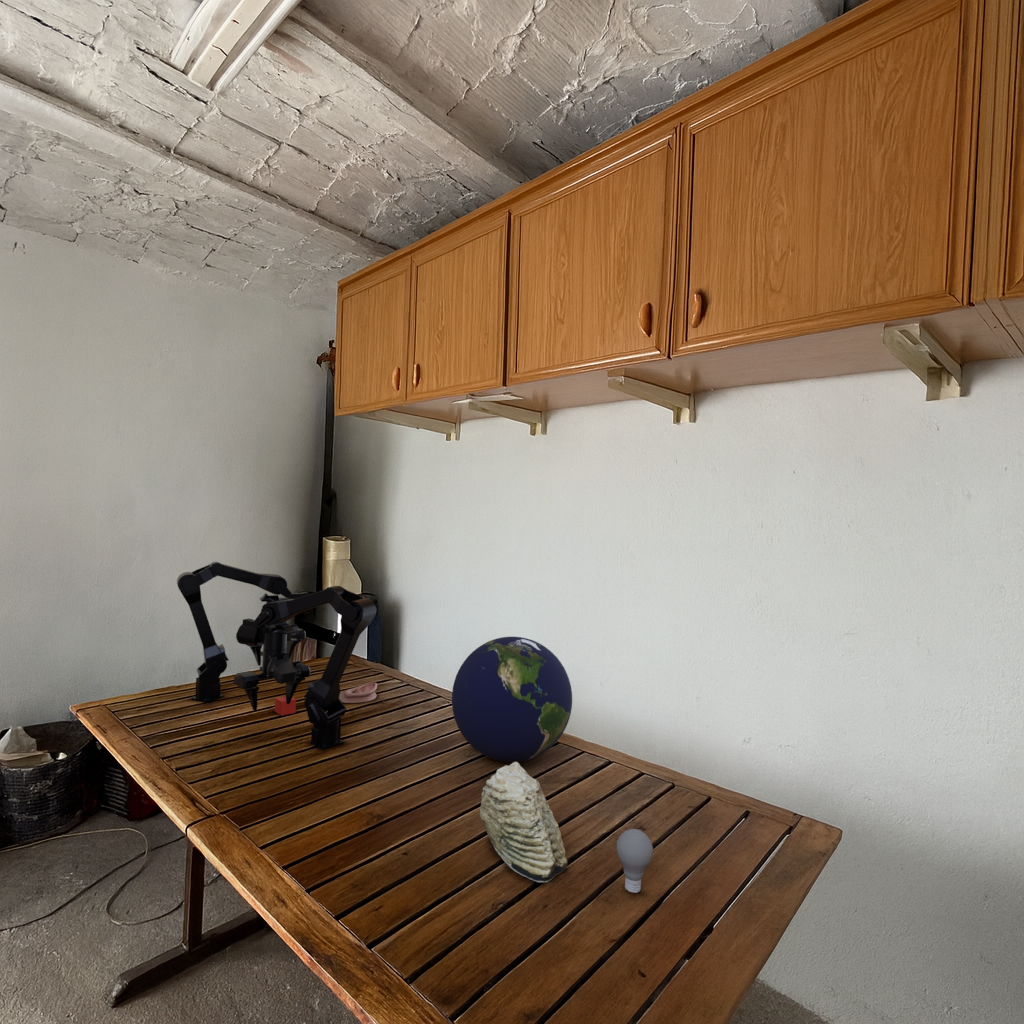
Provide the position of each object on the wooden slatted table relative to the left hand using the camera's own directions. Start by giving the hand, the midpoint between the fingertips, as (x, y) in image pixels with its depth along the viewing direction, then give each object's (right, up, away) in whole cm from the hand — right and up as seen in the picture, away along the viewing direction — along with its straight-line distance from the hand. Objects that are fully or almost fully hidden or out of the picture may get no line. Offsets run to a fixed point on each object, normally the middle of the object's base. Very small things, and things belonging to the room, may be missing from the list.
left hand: (273, 663), depth 202 cm
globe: (+76, -13, -44) cm, 89 cm away
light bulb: (+96, -15, -97) cm, 137 cm away
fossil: (+78, -14, -88) cm, 118 cm away
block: (+10, -10, -18) cm, 23 cm away
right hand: (+13, -3, -35) cm, 37 cm away
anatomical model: (+26, -10, -3) cm, 29 cm away
